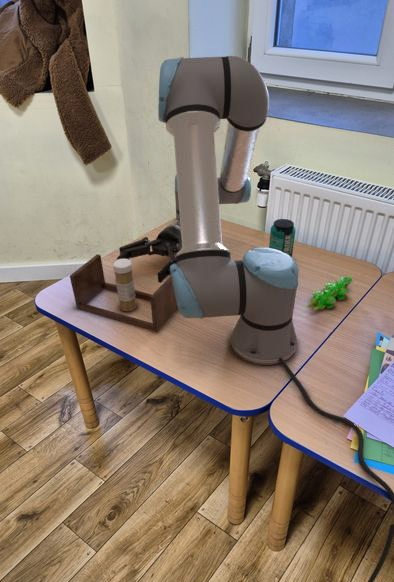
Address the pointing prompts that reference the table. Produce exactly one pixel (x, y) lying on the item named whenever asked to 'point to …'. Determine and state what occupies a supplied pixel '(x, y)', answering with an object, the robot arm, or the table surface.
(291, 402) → the table surface
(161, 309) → the bottle rack
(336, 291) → the green long bumpy piece
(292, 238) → the green supplement bottle
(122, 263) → the sprinkles bottle
